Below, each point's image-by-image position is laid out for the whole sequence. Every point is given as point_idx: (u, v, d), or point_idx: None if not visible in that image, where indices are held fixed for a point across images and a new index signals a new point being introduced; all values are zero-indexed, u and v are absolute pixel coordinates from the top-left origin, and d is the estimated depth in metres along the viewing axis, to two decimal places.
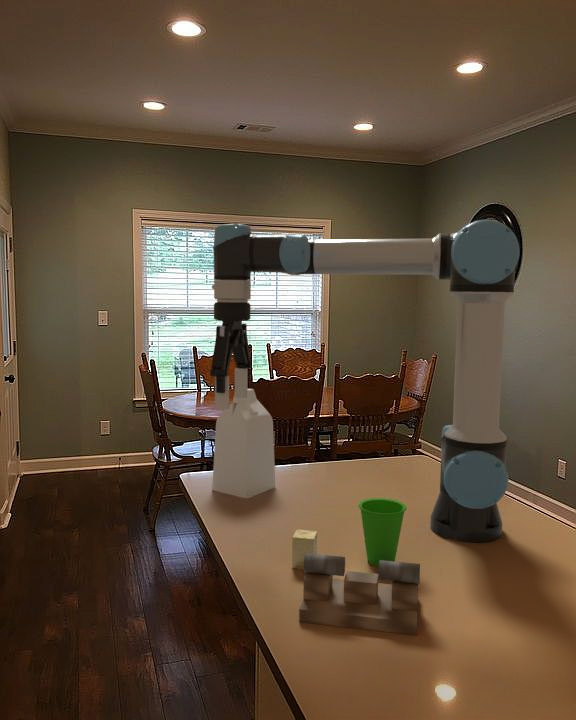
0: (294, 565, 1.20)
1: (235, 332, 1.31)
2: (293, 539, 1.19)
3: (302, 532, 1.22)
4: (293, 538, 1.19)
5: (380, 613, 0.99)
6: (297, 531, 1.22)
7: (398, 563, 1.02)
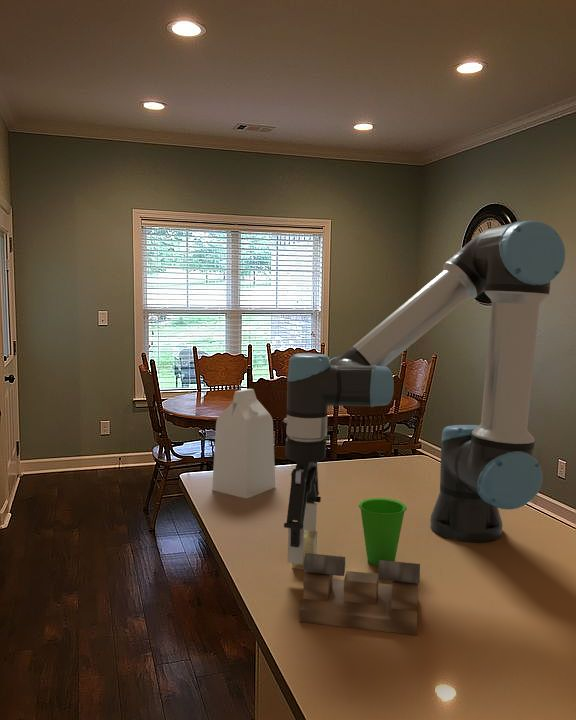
0: (294, 565, 1.20)
1: (309, 473, 1.17)
2: None
3: None
4: None
5: (380, 613, 0.99)
6: None
7: (398, 563, 1.02)
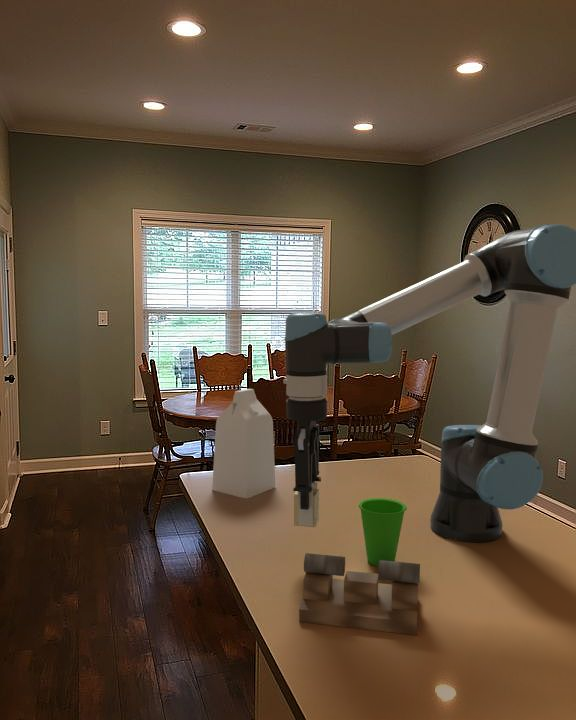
0: (296, 522, 1.19)
1: (311, 435, 1.17)
2: (295, 496, 1.19)
3: None
4: (295, 495, 1.19)
5: (380, 613, 0.99)
6: None
7: (398, 563, 1.02)
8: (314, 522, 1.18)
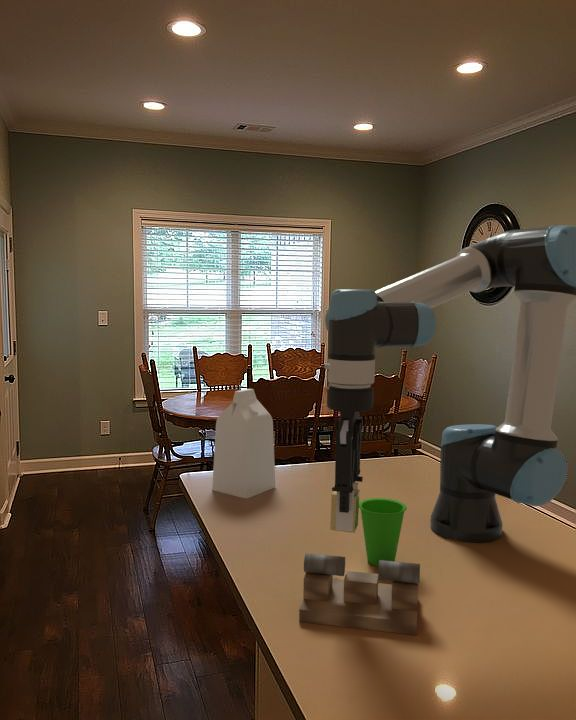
0: (333, 526, 1.05)
1: (355, 428, 1.03)
2: (332, 496, 1.05)
3: None
4: (332, 495, 1.05)
5: (380, 613, 0.99)
6: None
7: (398, 563, 1.02)
8: (353, 527, 1.04)
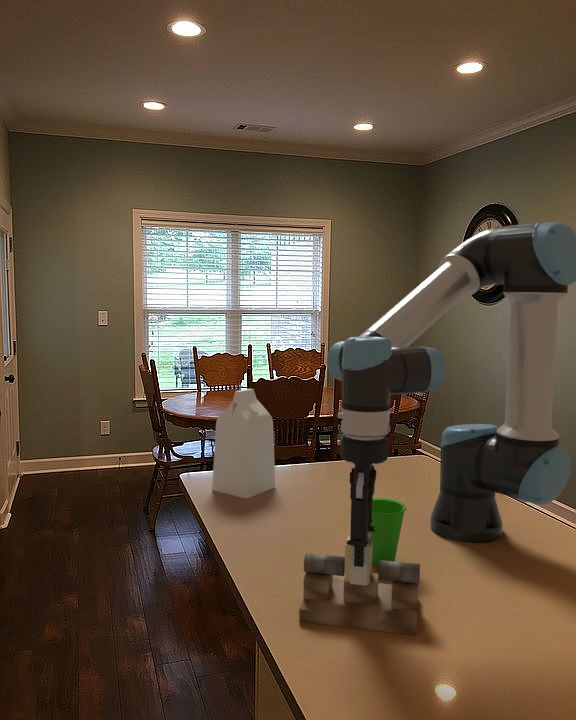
0: (347, 577, 1.02)
1: (369, 479, 1.00)
2: (346, 547, 1.02)
3: None
4: (346, 546, 1.02)
5: (380, 613, 0.99)
6: (349, 537, 1.05)
7: (398, 563, 1.02)
8: (368, 578, 1.02)
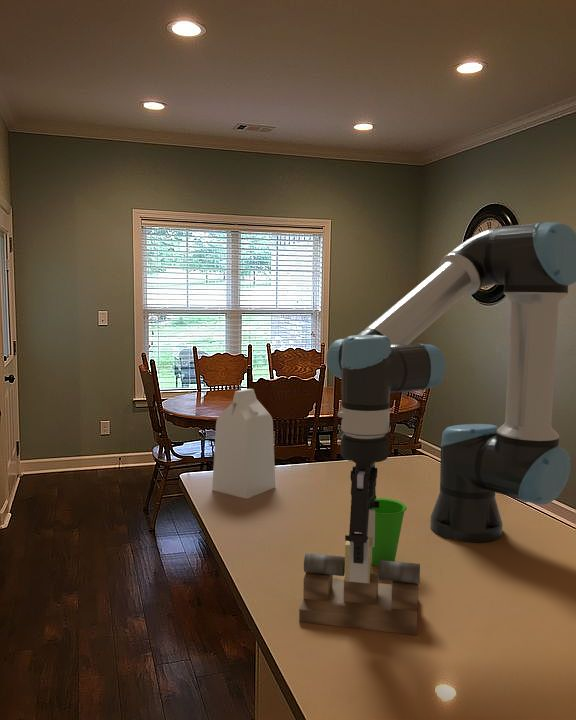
0: (347, 577, 1.02)
1: (370, 476, 1.00)
2: (346, 547, 1.02)
3: None
4: (346, 546, 1.02)
5: (380, 613, 0.99)
6: None
7: (398, 563, 1.02)
8: (368, 578, 1.02)
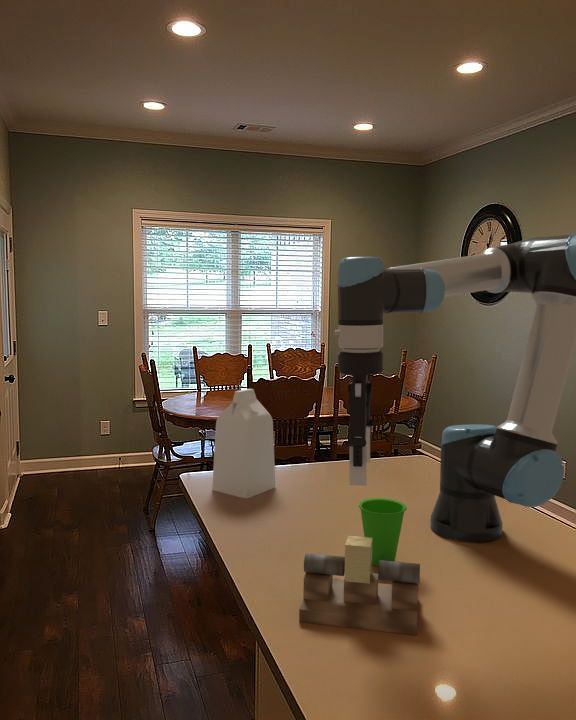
0: (347, 577, 1.02)
1: (367, 388, 1.07)
2: (346, 547, 1.02)
3: (355, 539, 1.04)
4: (346, 546, 1.02)
5: (380, 613, 0.99)
6: (349, 537, 1.05)
7: (398, 563, 1.02)
8: (368, 578, 1.02)
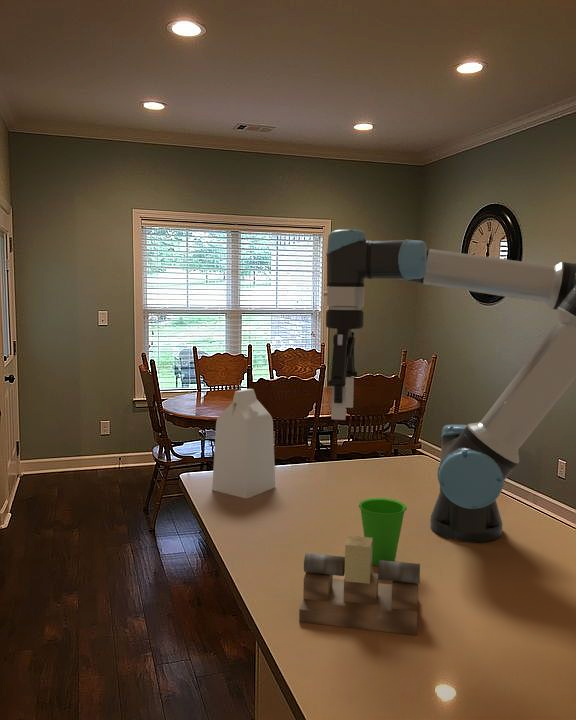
0: (347, 577, 1.02)
1: (349, 340, 1.28)
2: (346, 547, 1.02)
3: (355, 539, 1.04)
4: (346, 546, 1.02)
5: (380, 613, 0.99)
6: (349, 537, 1.05)
7: (398, 563, 1.02)
8: (368, 578, 1.02)
